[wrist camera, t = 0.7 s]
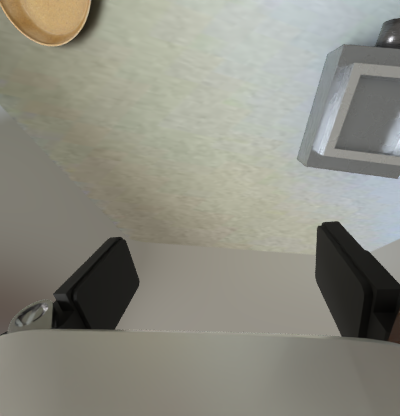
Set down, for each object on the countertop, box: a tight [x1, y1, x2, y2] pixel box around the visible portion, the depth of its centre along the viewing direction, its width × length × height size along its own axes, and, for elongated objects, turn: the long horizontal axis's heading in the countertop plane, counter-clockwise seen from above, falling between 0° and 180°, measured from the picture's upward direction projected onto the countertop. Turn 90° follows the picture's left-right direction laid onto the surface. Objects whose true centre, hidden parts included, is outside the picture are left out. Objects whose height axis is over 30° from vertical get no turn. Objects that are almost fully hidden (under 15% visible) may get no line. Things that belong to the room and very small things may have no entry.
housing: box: [297, 18, 400, 179], centre depth 28 cm, size 17×12×7 cm
